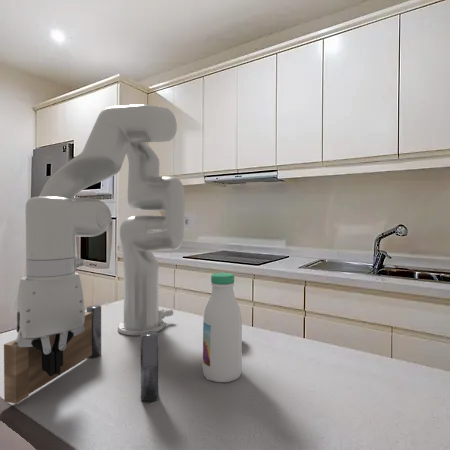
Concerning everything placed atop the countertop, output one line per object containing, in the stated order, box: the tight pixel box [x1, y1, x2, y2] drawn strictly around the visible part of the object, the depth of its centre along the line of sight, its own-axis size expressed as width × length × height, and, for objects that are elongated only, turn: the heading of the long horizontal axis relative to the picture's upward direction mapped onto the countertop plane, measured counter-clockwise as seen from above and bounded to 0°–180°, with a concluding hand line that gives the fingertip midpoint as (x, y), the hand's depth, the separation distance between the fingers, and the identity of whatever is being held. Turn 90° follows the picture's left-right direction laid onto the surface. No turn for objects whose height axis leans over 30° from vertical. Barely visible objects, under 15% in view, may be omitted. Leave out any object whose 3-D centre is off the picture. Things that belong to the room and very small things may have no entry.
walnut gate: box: [3, 311, 92, 405], centre depth 62 cm, size 2×19×9 cm, turn 165°
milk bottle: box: [202, 272, 243, 383], centre depth 64 cm, size 8×8×20 cm
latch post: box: [140, 331, 159, 403], centre depth 56 cm, size 3×3×11 cm
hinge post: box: [86, 304, 102, 359], centre depth 73 cm, size 3×3×11 cm
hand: (52, 372), depth 57 cm, fingers closed
